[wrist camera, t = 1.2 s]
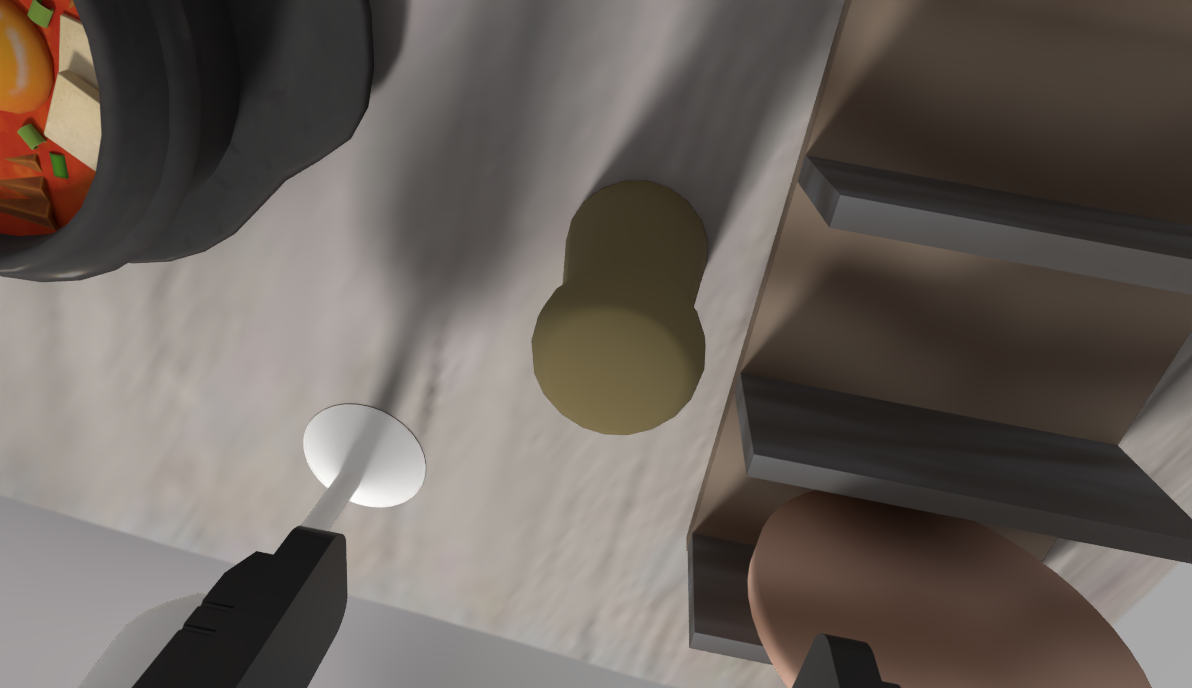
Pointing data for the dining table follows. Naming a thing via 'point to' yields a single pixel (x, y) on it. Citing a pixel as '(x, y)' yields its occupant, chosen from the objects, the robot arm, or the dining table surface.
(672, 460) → the dining table surface
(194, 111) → the casserole
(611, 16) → the dining table surface
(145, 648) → the champagne flute
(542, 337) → the cork
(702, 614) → the rack
